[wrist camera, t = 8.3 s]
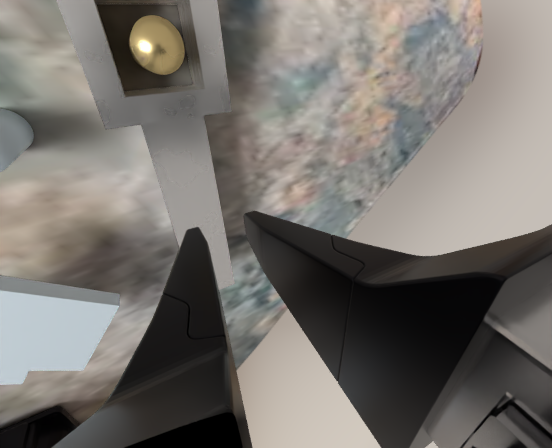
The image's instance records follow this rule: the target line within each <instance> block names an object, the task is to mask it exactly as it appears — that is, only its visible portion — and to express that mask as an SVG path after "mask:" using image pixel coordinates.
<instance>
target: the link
mask: <svg viewBox="0 0 552 448" xmlns="http://www.w3.org/2000/svg"><path fill="white" fill-rule="evenodd" d="M57 3H58V6H59V8H60V11H61V13H62V16H63V19H64V21H65V24H66V27H67V29H68V32H69V34H70V37H71V40H72V42H73V45H74V47H75V50H76V53H77V55H78V58H79V61H80V63H81V66H82V68H83V71H84V74H85V76H86V79H87V81H88V84H89V87H90V89H91V92H92V95H93V97H94V100H95V102H96V105H97V108H98V110H99V113H100V115H101V118H102V121H103V123H104V126H105V129H112V128H119V127H126V126H133V125H141V126H142V129H143V132H144V135H145V138H146V142H147V145H148V148H149V151H150V155H151V158H152V161H153V164H154V167H155V171H156V174H157V177H158V180H159V184H160V187H161V190H162V193H163V197H164V200H165V203H166V206H167V209H168V213H169V216H170V219H171V222H172V226H173V229H174V232H175V235H176V238H177V242H178V245H179V248H180V246H181V243H182V240H183V238H184V235H185V232H186V230H188V229H191V228H194V227H199V228H200V230H201V231H202V233H203V235H204V237H205V239H206V240H207V242H208V245H209V249H210V253H211V258H212V262H213V266H214V271H215V275H216V279H217V284H218V288H219V289H222V288H225V287H227V286H230V285H233V284H235V282H234V276H233V271H232V265H231V260H230V254H229V249H228V244H227V238H226V233H225V227H224V222H223V217H222V211H221V206H220V200H219V195H218V190H217V184H216V179H215V173H214V168H213V163H212V157H211V152H210V146H209V141H208V136H207V130H206V125H205V119H204V116H205V115H212V114H219V113H226V112H232V110H231V102H230V94H229V87H228V79H227V71H226V64H225V56H224V49H223V41H222V33H221V26H220V18H219V10H218V3H217V0H57ZM97 4H177V7H178V12H179V17H180V22H181V27H182V32H183V37H184V43H185V48H186V53H187V58H188V63H189V68H190V73H191V79H192V85H182V86H172V87H162V88H151V89H141V90H131V91H124V88H123V85H122V82H121V79H120V75H119V72H118V69H117V66H116V63H115V60H114V57H113V54H112V51H111V47H110V44H109V41H108V38H107V35H106V32H105V29H104V26H103V23H102V19H101V16H100V13H99V10H98V7H97Z"/></svg>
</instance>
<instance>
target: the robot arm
mask: <svg viewBox="0 0 552 448" xmlns="http://www.w3.org/2000/svg"><path fill="white" fill-rule="evenodd" d="M244 224H245V231H246V236H247V239H248V241H249V243H250V245H251V247H252V249H253V251H254V253H255V255H256V257H257V259H258V261H259V264H260V266H261V267H262V269H263V271H264V273H265V274H266V276H267V278H268V279H269V281H270V282H271V284H272V285H273V287H274V288H275V290H276V291H277V293H278V294H279V296H280V297H281V298H282V300H283V301H284V303H285V304H286V306H287V307H288V309H289V310H290V312H291V313H292V315H293V316H294V318H295V319H296V321H297V322H298V324H299V325H300V327H301V328H302V330H303V331H304V333H305V334H306V336H307V337H308V339H309V340H310V342H311V343H312V345H313V346H314V348H315V349H316V351H317V352H318V354H319V355H320V357H321V358H322V360H323V361H324V363H325V364H326V366H327V367H328V369H329V370H330V372H331V373H332V375H333V376H334V378H335V379H336V380H337V381H338V384H339V385H340V387H341V388H342V390H343V391H344V393H345V394H346V396H347V397H348V399H349V400H350V402H351V403H352V405H353V406H354V408H355V409H356V410H357V412H358V413H359V415H360V417H361V418H362V420H363V421H364V422H365V424H366V426H367V427H368V428H369V430H370V431H371V433H372V434H373V436H374V437H375V439H376V440H377V442H378V443H379V445H380V446H381V448H425V447H426V446H427V445H429V444H430V443H431V442H432V441H434V443H435V444H436V445H437V446H438V448H552V225H549V226H547V227H545V228H543V229H541V230H538V231H535V232H532V233H528V234H525V235H521V236H518V237H514V238H510V239H505V240H501V241H497V242H493V243H489V244H484V245H480V246H477V247H472V248H468V249H463V250H459V251H455V252H451V253H447V254H443V255H438V256H416V255H411V254H406V253H402V252H398V251H393V250H389V249H385V248H380V247H376V246H372V245H368V244H363V243H359V242H356V241H352V240H348V239H345V238H342V237H339V236H335V235H332V236H331V234H329V233H325V232H322V231H319V230H316V229H312V228H309V227H306V226H303V225H299V224H296V223H293V222H290V221H286V220H283V219H280V218H277V217H273V216H270V215H267V214H264V213H260V212H257V211H252V212H248V213H245V214H244ZM0 448H252V443H251V438H250V434H249V429H248V424H247V420H246V415H245V410H244V406H243V401H242V396H241V391H240V387H239V382H238V377H237V372H236V368H235V363H234V358H233V353H232V349H231V344H230V339H229V335H228V330H227V325H226V320H225V316H224V311H223V306H222V302H221V297H220V292H219V288H218V284H217V279H216V275H215V271H214V266H213V262H212V258H211V253H210V249H209V245H208V242H207V240H206V239H205V237H204V235H203V233H202V231H201V230H200V228H199V227H194V228H191V229H188V230H186V232H185V235H184V238H183V240H182V243H181V246H180V248H179V251H178V254H177V256H176V259H175V262H174V264H173V267H172V270H171V272H170V275H169V278H168V280H167V283H166V286H165V288H164V291H163V295H162V296H161V299H160V301H159V304H158V307H157V309H156V311H155V314H154V316H153V318H152V321H151V323H150V324H149V326H148V328H147V330H146V332H145V334H144V336H143V338H142V340H141V342H140V344H139V346H138V347H137V349H136V351H135V353H134V355H133V357H132V358H131V360H130V362H129V364H128V366H127V368H126V369H125V371H124V373H123V375H122V377H121V379H120V380H119V382H118V384H117V386H116V387H115V389H114V391H113V392H112V394H111V395H110V396H109V398H108V399H107V401H106V402H105V403H104V404H103V405H102V407H101V408H100V409H99V410H98V411H97V412H96V413H95V414H93V415H92V416H91V417H90V418H89V419H87V420H86V421H85V422H84V423H82V424H81V425H80V424H79V423H77V422H76V421H75V420H74V419H73V418H72V417H71V416H70V415H69V414H68V413H67V412H66V411H65V410H64V409H63V408H62V407H54V408H52V409H49V410H47V411H45V412H42V413H40V414H38V415H35V416H33V417H31V418H28V419H26V420H24V421H22V422H19V423H17V424H15V425H12V426H10V427H8V428H5V429H3V430H1V431H0Z"/></svg>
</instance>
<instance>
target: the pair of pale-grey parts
mask: <svg viewBox="0 0 552 448" xmlns="http://www.w3.org/2000/svg"><path fill="white" fill-rule="evenodd" d="M33 139H34V133H33V130H32V127H31V126H30V124H29V123H28V122H27V121H26V120H25V119H24V118H23V117H21V116H20V115H18V114H17V113H15V112H12V111H10V110H6V109H0V172H1V171H3V170H5V169H6V168H7V167H8V166H9V165H10V164H11V163H12V162H14V161H15V160H16V159H17V158H18V157H19V156H20V155H21V154H22V153H23V152H24V151H25V150H26V149H27V148H28V147H29V146H30V145H31V144H32V142H33ZM119 306H120V294H117V293H110V292H104V291H98V290H91V289H85V288H78V287H72V286H66V285H59V284H53V283H47V282H40V281H34V280H27V279H21V278H15V277H8V276H2V275H0V385H10V384H23V382H24V380H25V378H26V376H27V374H28V372H29V371H83V370H84V368H85V367H86V365H87V363H88V361H89V359H90V358H91V356H92V354H93V352H94V351H95V349H96V347H97V345H98V343H99V342H100V340H101V338H102V336H103V335H104V333H105V331H106V329H107V327H108V326H109V324H110V322H111V320H112V319H113V317H114V315H115V313H116V311H117V310H118V308H119Z"/></svg>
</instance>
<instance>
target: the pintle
mask: <svg viewBox="0 0 552 448" xmlns="http://www.w3.org/2000/svg"><path fill="white" fill-rule="evenodd" d="M129 50H130V53H131V55H132V57H133V58H134V60H135V61H136V62H137V63H138V64H139V65H140V66H141V67H143V68H145V69H147V70H149V71H151V72H154V73H157V74H162V75H166V74H171V73H173V72H175V71H176V70H177V69H178V68H179V67H180V66H181V64H182V62H183V60H184V54H185V49H184V43H183V40H182V37H181V35H180V33H179V32H178V30H177V29H176V28H175V26H174V25H173V24H172V23H170V22H169V21H168V20H166V19H164V18H162V17H160V16H156V15H148V16H144V17H142V18H140V19H139V20H138V21H137V22H136V23H135V24H134V26H133V28H132V31H131V34H130V36H129Z"/></svg>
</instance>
